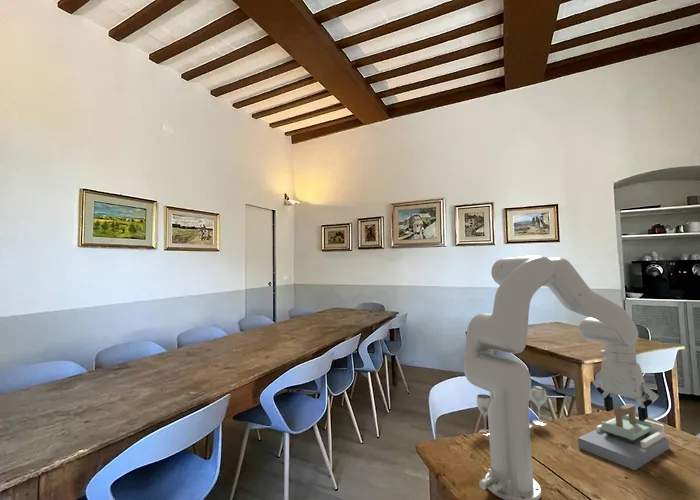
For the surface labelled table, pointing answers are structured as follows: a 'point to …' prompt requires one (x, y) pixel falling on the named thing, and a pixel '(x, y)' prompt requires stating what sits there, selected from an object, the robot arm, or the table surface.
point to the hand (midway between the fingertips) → (625, 414)
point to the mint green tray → (627, 424)
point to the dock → (626, 446)
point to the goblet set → (536, 396)
